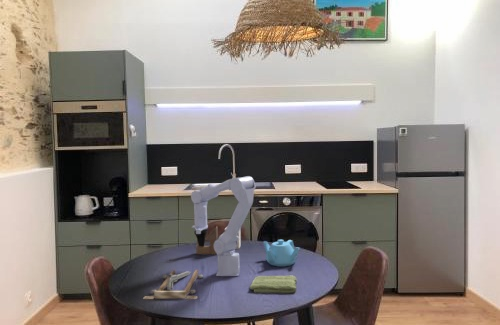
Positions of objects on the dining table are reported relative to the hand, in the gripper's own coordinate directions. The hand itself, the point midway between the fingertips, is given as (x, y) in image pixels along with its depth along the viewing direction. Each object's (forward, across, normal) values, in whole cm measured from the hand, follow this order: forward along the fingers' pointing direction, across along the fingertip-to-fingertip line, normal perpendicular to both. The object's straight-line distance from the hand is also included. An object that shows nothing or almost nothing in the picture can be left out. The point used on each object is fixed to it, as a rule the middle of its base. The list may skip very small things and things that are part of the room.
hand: (201, 245), depth 172 cm
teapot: (+10, -6, +36) cm, 38 cm away
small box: (+10, -32, +11) cm, 35 cm away
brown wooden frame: (+10, -21, -1) cm, 23 cm away
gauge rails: (+10, +20, -6) cm, 24 cm away
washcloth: (+11, +23, +32) cm, 41 cm away
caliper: (+10, +17, -6) cm, 21 cm away
